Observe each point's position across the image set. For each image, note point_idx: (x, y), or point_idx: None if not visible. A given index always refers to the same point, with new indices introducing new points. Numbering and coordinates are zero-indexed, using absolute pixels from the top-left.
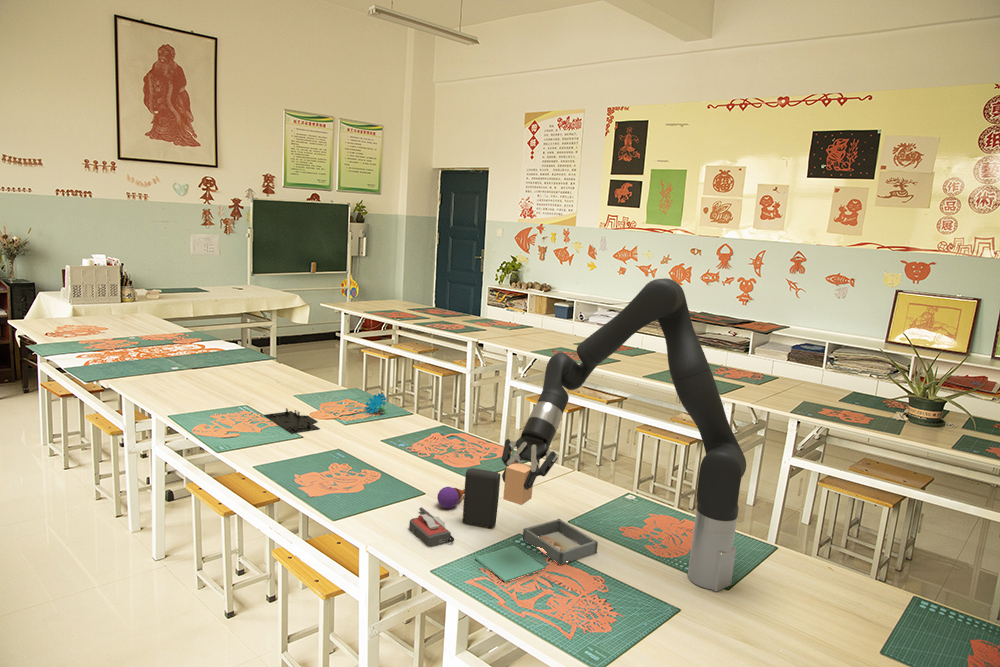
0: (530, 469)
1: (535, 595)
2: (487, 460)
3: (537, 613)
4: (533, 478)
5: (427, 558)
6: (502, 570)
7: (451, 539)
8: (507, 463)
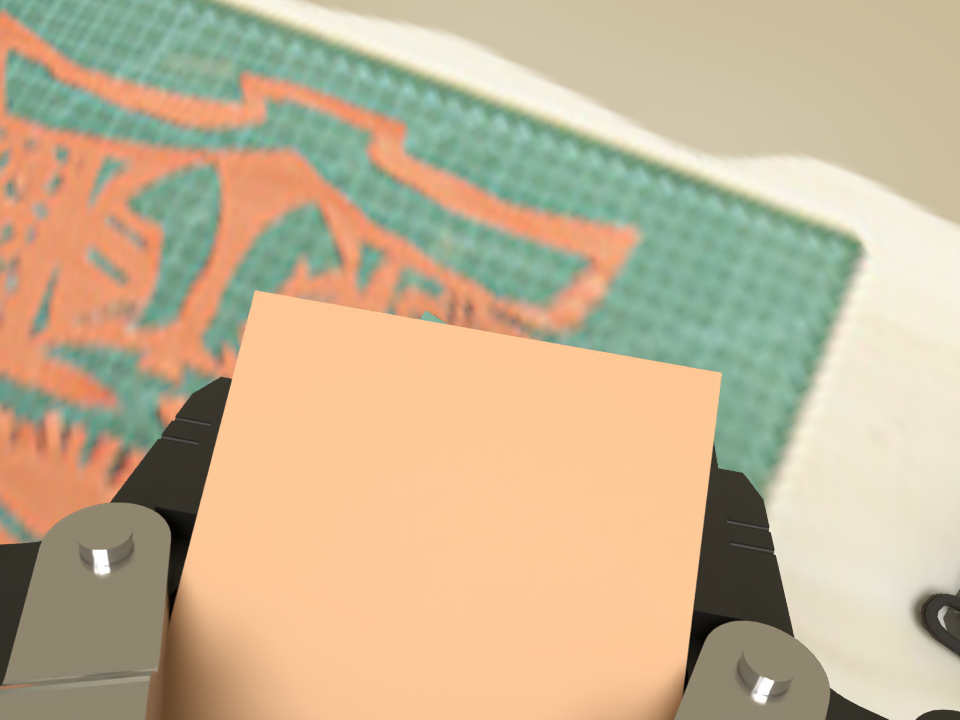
0: (187, 559)
1: (232, 277)
2: None
3: (187, 130)
4: (139, 479)
5: (951, 360)
6: None
7: (939, 602)
8: (798, 650)
